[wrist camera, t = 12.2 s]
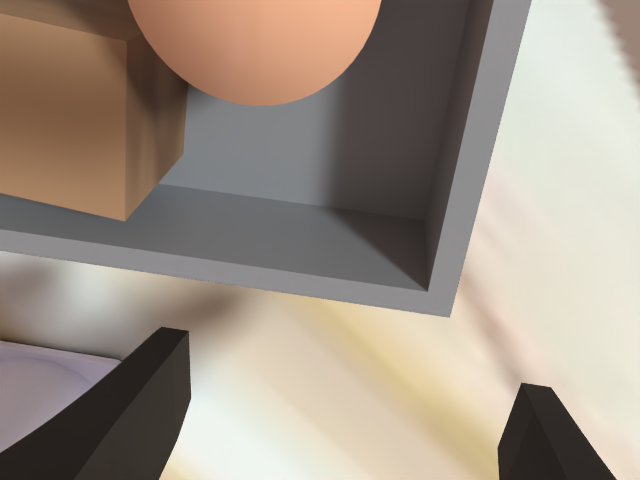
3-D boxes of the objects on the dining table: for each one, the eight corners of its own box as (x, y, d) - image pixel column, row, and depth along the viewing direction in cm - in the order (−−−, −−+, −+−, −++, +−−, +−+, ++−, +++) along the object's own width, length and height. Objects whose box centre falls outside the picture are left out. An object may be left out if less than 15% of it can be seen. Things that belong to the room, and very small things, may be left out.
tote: (441, 234, 22) (449, 317, 17) (-10, 171, 23) (-107, 234, 19) (546, -231, 15) (604, -283, 10) (-113, -288, 16) (-305, -357, 12)
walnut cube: (183, 154, 21) (124, 221, 16) (46, 123, 21) (-47, 182, 16) (192, 7, 18) (126, 41, 14) (36, -28, 18) (-78, -5, 14)
